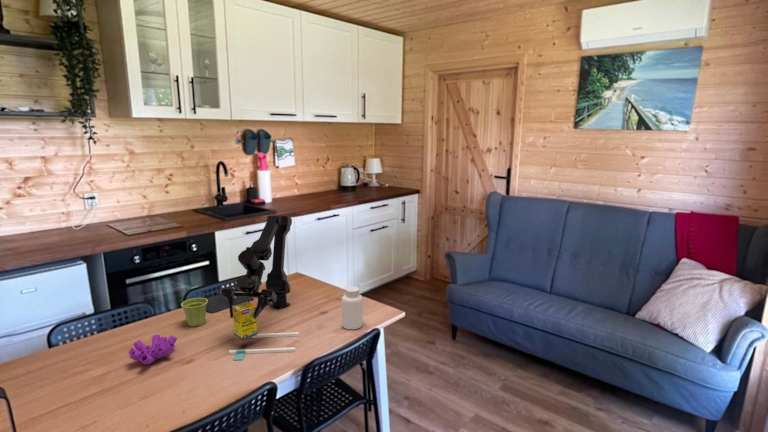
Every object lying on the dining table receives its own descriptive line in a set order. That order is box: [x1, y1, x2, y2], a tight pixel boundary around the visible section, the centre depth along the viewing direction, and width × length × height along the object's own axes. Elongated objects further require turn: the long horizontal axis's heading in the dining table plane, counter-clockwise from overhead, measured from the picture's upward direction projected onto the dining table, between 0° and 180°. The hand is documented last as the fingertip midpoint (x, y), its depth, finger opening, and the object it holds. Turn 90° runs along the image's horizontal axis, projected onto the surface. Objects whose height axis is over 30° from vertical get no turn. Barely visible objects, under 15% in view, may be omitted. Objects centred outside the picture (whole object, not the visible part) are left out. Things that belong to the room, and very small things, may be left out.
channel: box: [228, 331, 300, 362], centre depth 149 cm, size 22×20×1 cm
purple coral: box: [128, 334, 178, 365], centre depth 139 cm, size 11×15×10 cm
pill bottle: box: [341, 286, 364, 330], centre depth 162 cm, size 8×8×15 cm
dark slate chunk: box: [206, 286, 255, 314], centre depth 185 cm, size 15×22×5 cm
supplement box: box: [232, 301, 258, 341], centre depth 147 cm, size 6×6×11 cm
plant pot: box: [180, 297, 208, 327], centre depth 164 cm, size 9×9×9 cm
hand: (242, 318), depth 145 cm, fingers closed on supplement box, 8 cm apart
